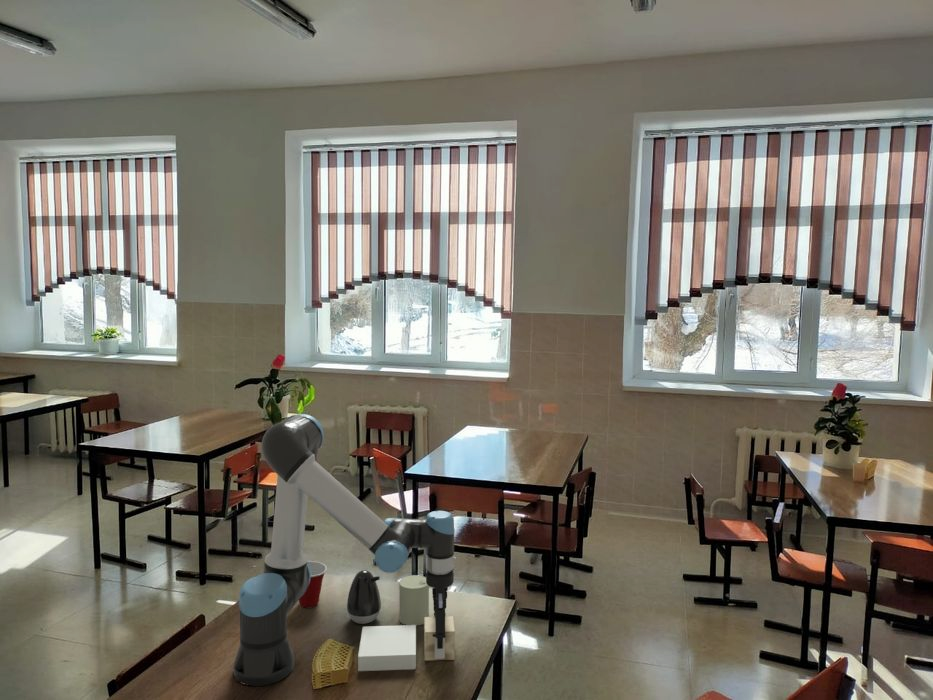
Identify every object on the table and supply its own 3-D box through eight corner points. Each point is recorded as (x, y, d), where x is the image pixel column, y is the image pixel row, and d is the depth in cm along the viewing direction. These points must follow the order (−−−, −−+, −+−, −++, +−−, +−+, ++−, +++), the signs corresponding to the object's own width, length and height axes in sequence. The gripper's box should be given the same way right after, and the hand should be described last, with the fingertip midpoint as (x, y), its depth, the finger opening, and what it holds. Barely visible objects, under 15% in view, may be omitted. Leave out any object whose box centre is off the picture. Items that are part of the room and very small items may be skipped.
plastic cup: (322, 612, 196) (322, 575, 195) (287, 611, 196) (287, 574, 195) (330, 595, 207) (330, 560, 206) (297, 595, 207) (297, 559, 206)
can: (424, 627, 188) (424, 588, 187) (394, 624, 190) (394, 585, 189) (432, 612, 197) (432, 575, 196) (404, 609, 199) (404, 572, 198)
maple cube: (424, 660, 171) (424, 632, 170) (424, 644, 179) (424, 617, 178) (454, 659, 171) (454, 631, 171) (452, 643, 179) (453, 616, 178)
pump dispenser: (370, 631, 185) (370, 581, 184) (340, 624, 189) (339, 574, 188) (387, 615, 195) (387, 567, 193) (358, 608, 199) (358, 561, 197)
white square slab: (358, 671, 166) (358, 656, 165) (362, 640, 181) (362, 626, 180) (415, 669, 167) (415, 654, 167) (415, 638, 182) (415, 624, 181)
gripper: (456, 586, 163) (454, 670, 165) (451, 553, 183) (450, 628, 185) (426, 587, 162) (425, 671, 164) (425, 553, 183) (424, 629, 185)
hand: (439, 648), depth 175 cm, fingers closed on maple cube, 8 cm apart
